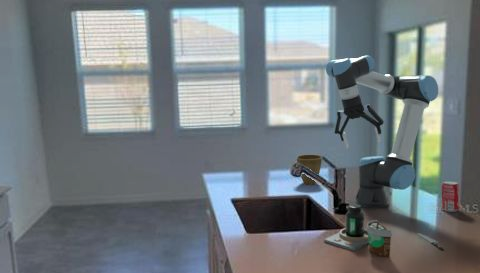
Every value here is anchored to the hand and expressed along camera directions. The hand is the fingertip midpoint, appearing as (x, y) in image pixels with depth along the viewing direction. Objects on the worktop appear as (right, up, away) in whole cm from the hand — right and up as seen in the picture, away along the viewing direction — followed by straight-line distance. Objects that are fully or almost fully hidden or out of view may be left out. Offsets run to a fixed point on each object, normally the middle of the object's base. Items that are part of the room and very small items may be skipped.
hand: (363, 144), depth 178 cm
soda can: (+44, -30, +15) cm, 55 cm away
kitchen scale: (-9, -36, -16) cm, 41 cm away
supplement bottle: (-8, -35, -14) cm, 39 cm away
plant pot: (-11, -25, +73) cm, 78 cm away
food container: (-4, -38, -28) cm, 47 cm away
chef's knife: (+20, -36, -19) cm, 46 cm away
